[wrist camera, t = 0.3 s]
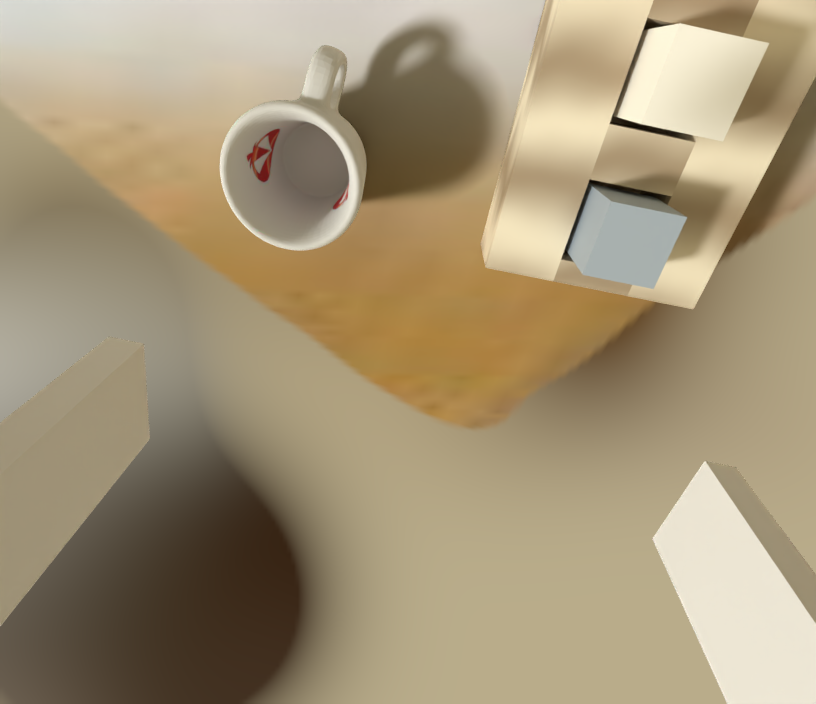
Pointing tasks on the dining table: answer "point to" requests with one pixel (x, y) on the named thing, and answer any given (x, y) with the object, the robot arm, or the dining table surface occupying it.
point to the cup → (297, 163)
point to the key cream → (688, 79)
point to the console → (639, 137)
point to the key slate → (623, 236)
